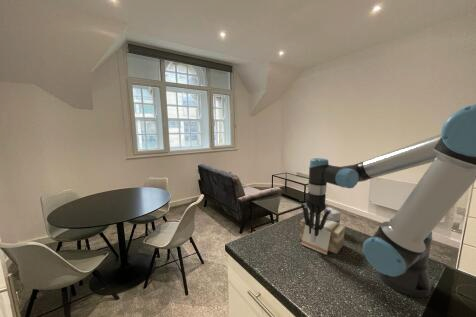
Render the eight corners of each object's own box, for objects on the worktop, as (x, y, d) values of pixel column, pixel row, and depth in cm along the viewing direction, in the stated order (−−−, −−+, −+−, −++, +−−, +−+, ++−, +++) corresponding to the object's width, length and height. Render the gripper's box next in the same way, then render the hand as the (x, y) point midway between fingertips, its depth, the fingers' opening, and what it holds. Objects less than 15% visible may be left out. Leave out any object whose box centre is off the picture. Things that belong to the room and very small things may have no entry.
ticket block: (343, 244, 96) (345, 224, 94) (336, 254, 89) (338, 231, 87) (308, 231, 108) (309, 213, 107) (299, 239, 101) (300, 219, 99)
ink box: (321, 226, 114) (322, 207, 112) (328, 225, 115) (329, 206, 114) (332, 234, 106) (333, 213, 104) (339, 232, 107) (341, 212, 106)
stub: (331, 232, 89) (330, 232, 89) (326, 254, 88) (326, 254, 87) (306, 223, 97) (305, 223, 97) (301, 244, 96) (301, 244, 95)
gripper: (334, 194, 86) (330, 243, 89) (306, 187, 95) (303, 232, 98) (329, 198, 81) (324, 250, 84) (299, 191, 89) (296, 238, 93)
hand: (313, 241), depth 91 cm, fingers closed
